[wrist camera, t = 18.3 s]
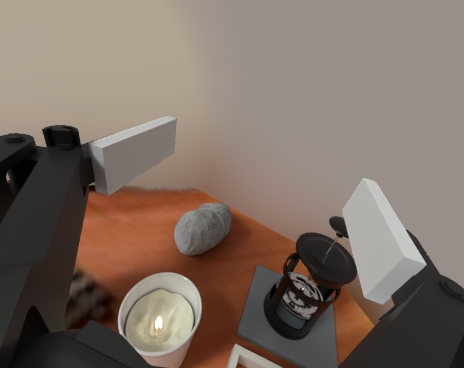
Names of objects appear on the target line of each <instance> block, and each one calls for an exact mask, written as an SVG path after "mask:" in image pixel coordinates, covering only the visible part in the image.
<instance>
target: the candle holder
mask: <svg viewBox="0 0 464 368" xmlns="http://www.w3.org/2000/svg"><path fill="white" fill-rule="evenodd" d="M201 313H202V301H201V297H200V294H199V291H198V289H197V288H196V286H195V285H194V284H193V283H192V282H191V281H190V280H189V279H188V278H186V277H184V276H182V275H180V274H177V273H171V272H163V273H157V274H153V275H151V276H148V277H146V278H144V279H143V280H141V281H140V282H138V283H137V284H136V285H135V286H134V287H133V288H132V289H131V290H130V291H129V292H128V294H127V295H126V296H125V298H124V300H123V302H122V304H121V307H120V310H119V315H118V328H119V332H120V334H121V335H123V337H124V338H125V339H126V340H127V341H128V342H129V343H130V344H131V345H132V346H133V347H134V348H135V350H136V351H137V352H138V353H139V354H140V355H141V356H142V357H143V358H144V359H145V360H146V361H147V362H148V363H149V364H150V365H153V366H159V367H166V368H179V367H180V366H181V364H182V363H183V361H184V359H185V356H186V354H187V351H188V349H189V346H190V344H191V341H192V338H193V336H194V333H195V331H196V329H197V327H198V325H199V322H200V318H201Z"/></svg>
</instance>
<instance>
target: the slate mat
mask: <svg viewBox="0 0 464 368" xmlns="http://www.w3.org/2000/svg"><path fill="white" fill-rule="evenodd" d="M280 276H281V274H278V273H276V272H274V271H271V270H269V269H267V268H265V267H262V266H260V265H258V264H257V266H256V270H255V273H254V276H253V280H252V283H251V287H250V290H249V293H248V297H247V300H246V303H245V307H244V310H243V314H242V317H241V320H240V324H239V327H238V331H237V334H236V335H237V336H239V337H241V338H243V339H245V340H247V341H249V342H251V343H253V344H254V345H256V346H258V347H260V348H262V349H264V350H266V351H268V352H270V353H272V354H274V355H276V356H278V357H280V358H282V359H284V360H286V361H288V362H290V363H292V364H294V365H296V366H298V367H300V368H338V360H337V348H336V335H335V322H334V310H333V304H331V305H330V306H329V307H328V308H327V309H326V311H325V312H324V313H323V314H322V315H321V316H320V317H319V319H318V320H317V321H316V323H315V324H314V326H313V327H312V328H311V330H310V332H309V334H308V335H307V336H306V337H305V338H303V339H300V340H289V339H286V338H284V337H282V336H280V335H279V334H278V333H277V332H275V331H274V330H273V328H272V327H271V326H270V325H269V323H268V321H267V319H266V317H265V314H264V308H263V304H264V299H265V296H266V295H267V293H268V292H269V291H270V289H271V288H272V286H273V285H274V284H275V283H276V282H277V280H278V278H279V277H280ZM331 300H333V297H331V296H330V297H329V298H328V299H327V300H326V301H331ZM275 312H276V314H277V315H278V317H279V318H280V319H281V320H282V321H283V322H285V323H286V324H287V325H289V326H291V327H293V328H297V329H301V328H302V327H303V326H304V324H305V320H302V319H299V318H297V317H295V316H293V315H292V314H290V313H289V312H288V311H287V310H286V309H285V308H284V307H283V306H282V304H281V303H279V304H278V306H277V308H276V309H275Z"/></svg>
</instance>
